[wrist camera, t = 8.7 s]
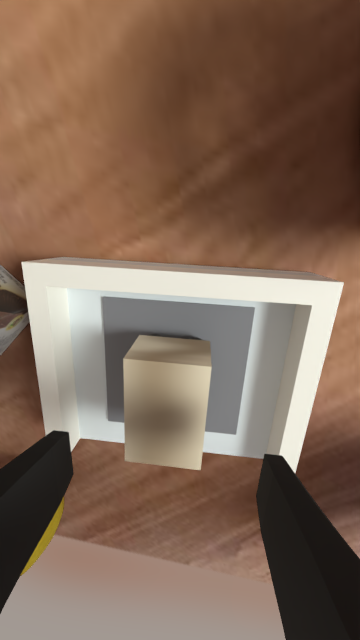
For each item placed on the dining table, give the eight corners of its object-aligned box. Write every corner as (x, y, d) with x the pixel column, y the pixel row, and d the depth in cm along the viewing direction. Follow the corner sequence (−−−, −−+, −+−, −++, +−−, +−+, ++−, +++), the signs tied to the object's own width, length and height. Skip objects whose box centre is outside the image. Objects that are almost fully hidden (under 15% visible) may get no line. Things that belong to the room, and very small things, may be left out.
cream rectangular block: (209, 333, 15) (211, 366, 11) (201, 416, 17) (200, 470, 13) (144, 327, 15) (123, 358, 11) (143, 409, 17) (124, 461, 13)
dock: (309, 272, 16) (344, 282, 12) (274, 439, 20) (291, 487, 16) (62, 256, 17) (21, 261, 13) (77, 418, 21) (49, 458, 17)
